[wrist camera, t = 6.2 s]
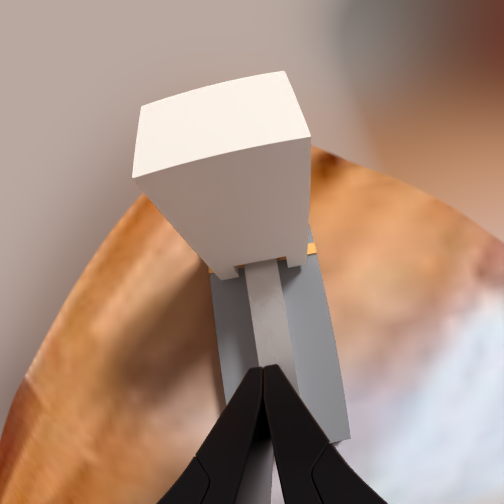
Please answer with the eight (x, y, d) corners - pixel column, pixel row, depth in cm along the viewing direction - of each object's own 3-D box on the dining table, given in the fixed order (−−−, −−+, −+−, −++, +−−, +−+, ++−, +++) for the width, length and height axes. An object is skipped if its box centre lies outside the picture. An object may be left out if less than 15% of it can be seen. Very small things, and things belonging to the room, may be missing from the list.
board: (347, 434, 13) (351, 439, 12) (238, 450, 14) (234, 456, 13) (305, 217, 18) (305, 208, 17) (209, 235, 19) (204, 228, 18)
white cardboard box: (306, 264, 16) (310, 136, 7) (221, 280, 16) (131, 178, 7) (295, 214, 17) (284, 70, 8) (215, 230, 17) (141, 106, 8)
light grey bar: (310, 437, 13) (312, 447, 11) (271, 442, 13) (268, 453, 11) (273, 224, 17) (270, 207, 16) (239, 231, 18) (232, 215, 16)
